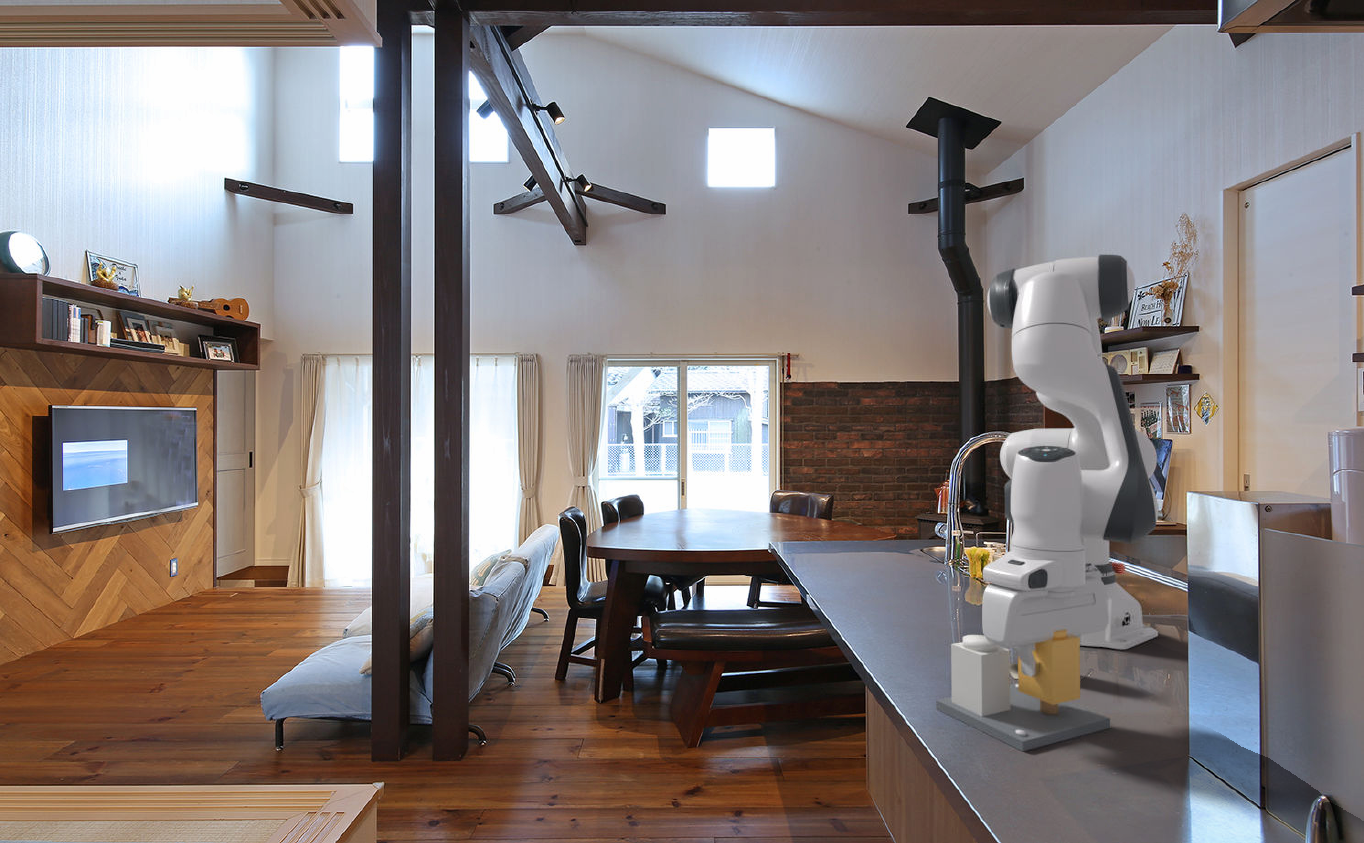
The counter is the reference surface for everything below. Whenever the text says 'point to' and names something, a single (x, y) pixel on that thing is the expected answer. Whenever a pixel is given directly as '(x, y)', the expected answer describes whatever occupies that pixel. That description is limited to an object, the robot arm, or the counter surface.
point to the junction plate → (1029, 721)
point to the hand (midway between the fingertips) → (1048, 671)
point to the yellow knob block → (1054, 670)
